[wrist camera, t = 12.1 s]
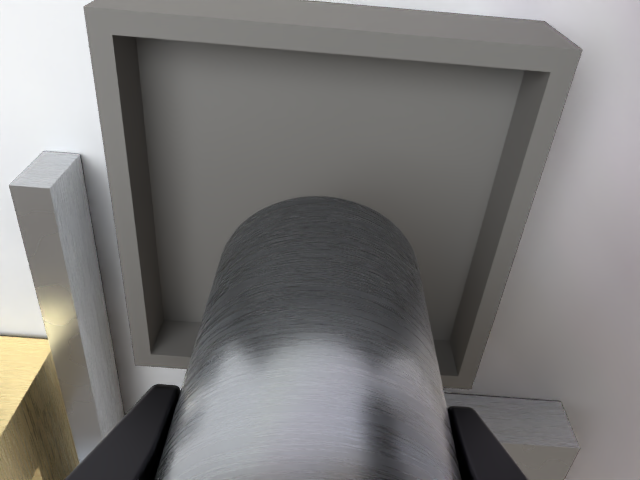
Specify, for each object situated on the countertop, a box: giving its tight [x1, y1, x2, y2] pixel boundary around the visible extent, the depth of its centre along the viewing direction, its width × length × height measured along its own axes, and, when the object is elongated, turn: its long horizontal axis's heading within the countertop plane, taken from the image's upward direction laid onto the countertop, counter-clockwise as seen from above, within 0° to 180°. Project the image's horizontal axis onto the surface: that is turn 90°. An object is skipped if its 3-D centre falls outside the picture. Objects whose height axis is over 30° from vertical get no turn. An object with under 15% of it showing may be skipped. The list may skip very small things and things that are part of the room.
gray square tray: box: [84, 0, 582, 389], centre depth 15 cm, size 10×10×2 cm
